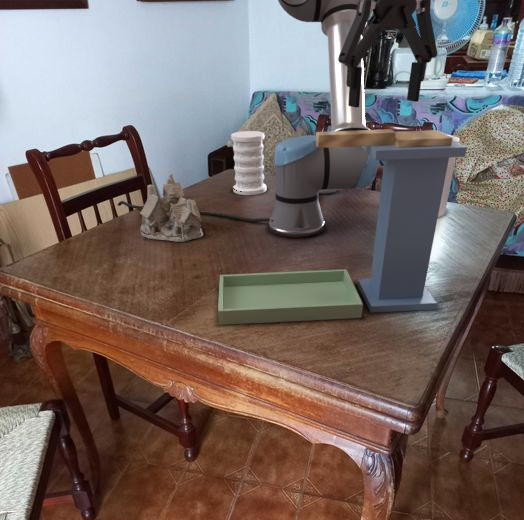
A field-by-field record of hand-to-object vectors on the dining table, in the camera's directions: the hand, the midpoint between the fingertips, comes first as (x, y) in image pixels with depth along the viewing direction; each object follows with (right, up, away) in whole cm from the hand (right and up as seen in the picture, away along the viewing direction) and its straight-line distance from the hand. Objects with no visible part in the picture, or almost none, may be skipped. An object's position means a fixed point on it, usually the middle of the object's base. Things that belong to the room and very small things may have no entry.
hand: (383, 103), depth 92 cm
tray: (-19, -38, +5) cm, 43 cm away
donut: (-3, +6, +69) cm, 69 cm away
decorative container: (-28, +7, +72) cm, 77 cm away
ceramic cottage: (-49, -16, +40) cm, 65 cm away
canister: (+23, -6, +50) cm, 56 cm away
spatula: (-3, -13, -11) cm, 17 cm away
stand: (+2, -37, +6) cm, 38 cm away
